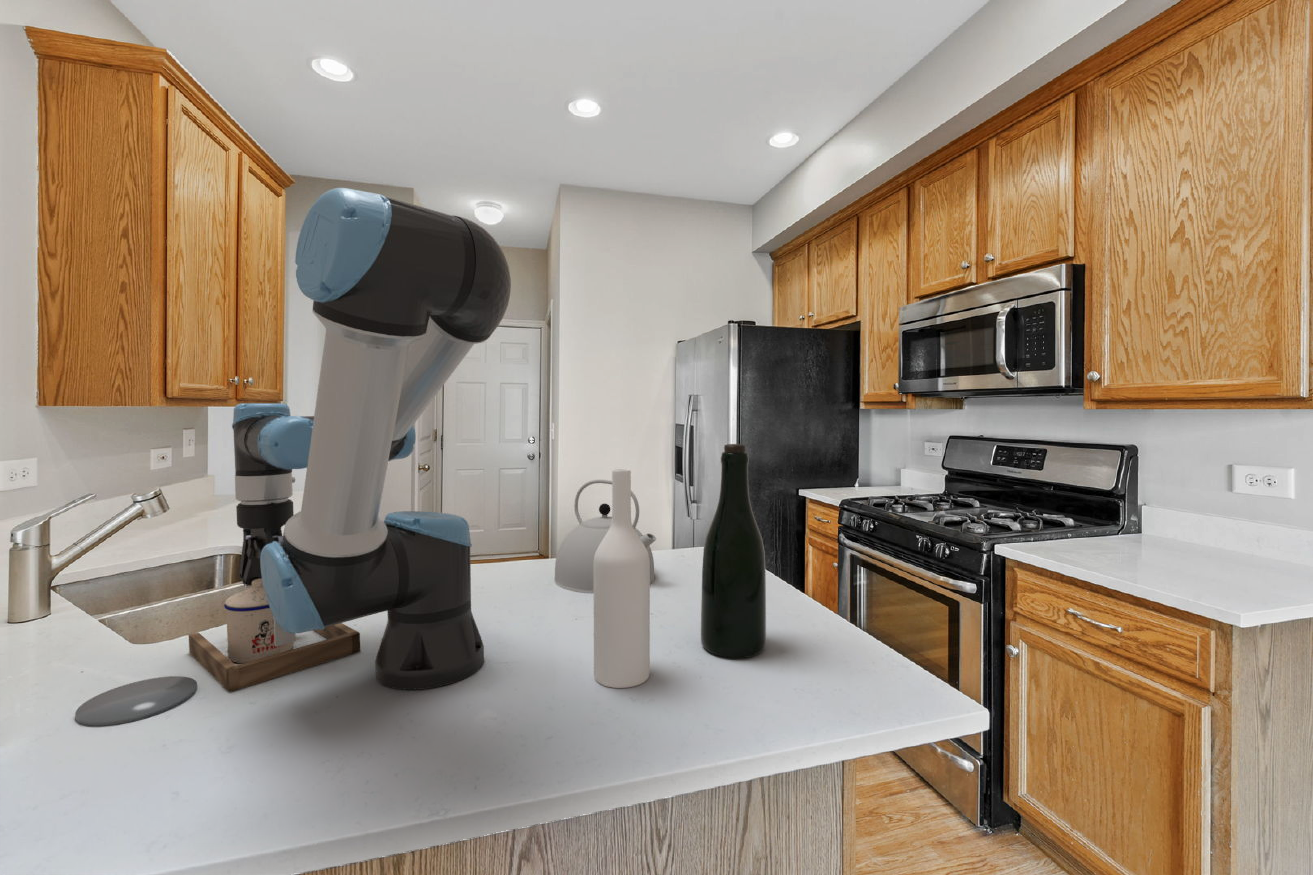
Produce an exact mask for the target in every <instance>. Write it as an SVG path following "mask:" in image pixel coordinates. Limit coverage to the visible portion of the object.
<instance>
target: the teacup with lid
mask: <svg viewBox="0 0 1313 875" xmlns="http://www.w3.org/2000/svg"><path fill="white" fill-rule="evenodd" d="M223 606H224V608H225V610H226V611H225V612H226V634H227V635H226V636H227V658H228V659H229V660H231V661H232V662H233V663H236V664H237V663H238V664H243V663H247V662H250V661H254V660H257V659H260V658H264V657H267V656H271V655H274V654H278V653H281V652H285V651H288V650H292V649H293V647H294V644H295V643H294V642H291V643H288V644H284V645H280V646H277V647H276V646H274V622H273V614H272V612H271V609H270V607H269V604H268V601H267V598H266V594H265V590H264V586H263V581H262V579H256V580H253V581H252V586H251V587H248V588H246V589H244V588H243V590H242V591H240V592H237V593H235V594H232V595H231V596H229V597H228V598H226V601H225V602H224V605H223Z"/></svg>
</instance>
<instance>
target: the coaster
mask: <svg viewBox="0 0 1313 875" xmlns="http://www.w3.org/2000/svg"><path fill="white" fill-rule="evenodd" d="M197 690H198V683H197V681H196V680H195V678H192V677H189V676H183V675H182V676H181V675H177V676H176V675H175V676H173V675H172V676H160V677H154V678H148V679H144V680H143V679H142V680H138V681H135V682H131V683H127V684H123V685H120V686H117V687H114V688H111V689H109V690H107V691H104V692H101V693H99V694H97V695H95V696H93V697H92V698H89V699H88V700H87V701H85V702H84V703H82V704H80V706H78V708H77V709H76V710H75V712H74V714H75V721H76V722H77V724H80V725H82V726H86V727H108V726H109V727H110V726H117V725H123V724H128V723H131V722H136V721H140V720H143V719H147V718H151V717H154V716H157V715H159V714H162V713H164V712H167V711H170V710H171V709H173V708H176V707H177V706H180V705H181V704H184V703H185V702H187V701H188V700H190V699H191V698H192V697H193V696H194V695H196V693H197Z"/></svg>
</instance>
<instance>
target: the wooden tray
mask: <svg viewBox="0 0 1313 875" xmlns="http://www.w3.org/2000/svg"><path fill="white" fill-rule="evenodd" d="M313 631H314V632H315V633H317V634H319V635H320V636H322V637H324V638H326V639H325V640H320V641H317V642H313V643H310V644H307V645H303V646H299V647H295V648H292V649H291V650H288V651H285V652H281V653H278V654H274V655H271V656H267V657H264V658H260V659H257V660H254V661H250V662H247V663H239V664H235V662H233V661H231V660H230V659H229V658H228V656H226V655H225V654H224V653H222V652H221V650H219V649H218V648H217V647H216V646H215V645H214V644H212V643H211V642H210V641H209V640H208V639H206V637H204V636H203V635H202V634H201V633H200V632H199V631H196V632H191V633H189V634H188V650H189V652H188V653H189V654H190V655H191V656H192V657H193V659H195V660H196V661H197V662H198V663H199V665H201V666H202V667H203V668H204V669H205V670H206V672H208V673H209V674H210V675H211V676H212V677H213V678H214V679H215V680H216V681H217V682H218V683H219V684H220V685H221V686H222V687H223V688H224V689H225V690H226V691H227V692H228V693H231V692H236V691H239V690H242V689H244V688H248V687H251V686H254V685H257V684H261V683H264V682H267V681H270V680H274V679H277V678H280V677H282V676H287V675H289V674H293V673H296V672H298V671H302V670H306V669H308V668H313V667H314V666H318V665H321V664H323V663H327V662H331V661H333V660H337V659H340V658H343V657H344V658H345V657H346V656H350V655H353V654H356V653H360V652H361V633H360V632H359V631H357V630H356V629H353V628H351V627H349V626H348V625H346V624H345V623H344V622H343V623H340V624H336V625H332V626H329V627H325V628H324V629H322V630H319V629H318V630H313Z"/></svg>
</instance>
